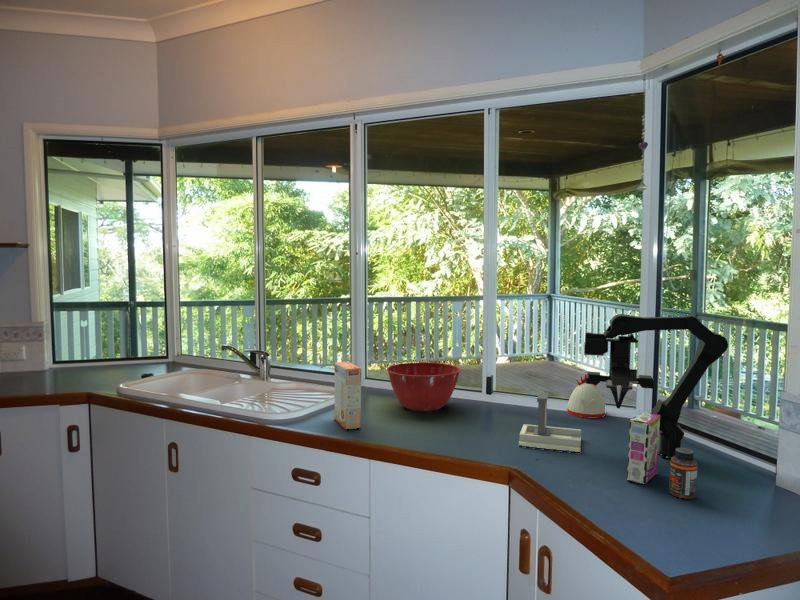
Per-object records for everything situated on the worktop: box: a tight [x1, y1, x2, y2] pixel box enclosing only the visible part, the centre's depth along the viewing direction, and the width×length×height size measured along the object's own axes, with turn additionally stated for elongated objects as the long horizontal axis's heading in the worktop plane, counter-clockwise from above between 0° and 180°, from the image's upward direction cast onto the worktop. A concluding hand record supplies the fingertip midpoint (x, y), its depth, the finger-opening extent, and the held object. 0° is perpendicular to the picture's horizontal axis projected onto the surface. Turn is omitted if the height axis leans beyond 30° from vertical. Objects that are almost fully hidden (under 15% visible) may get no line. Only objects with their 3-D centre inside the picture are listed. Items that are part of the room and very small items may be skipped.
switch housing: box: [518, 423, 582, 453], centre depth 176 cm, size 18×14×4 cm
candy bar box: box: [626, 411, 660, 485], centre depth 148 cm, size 11×5×16 cm, turn 141°
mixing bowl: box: [386, 361, 461, 413], centre depth 217 cm, size 28×28×16 cm
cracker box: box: [333, 361, 362, 430], centre depth 195 cm, size 14×6×21 cm, turn 22°
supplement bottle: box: [668, 447, 698, 500], centre depth 137 cm, size 6×6×11 cm
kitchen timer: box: [566, 373, 606, 418], centre depth 210 cm, size 14×14×15 cm
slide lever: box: [533, 391, 551, 436], centre depth 176 cm, size 5×8×13 cm, turn 161°
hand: (618, 408), depth 169 cm, fingers closed
